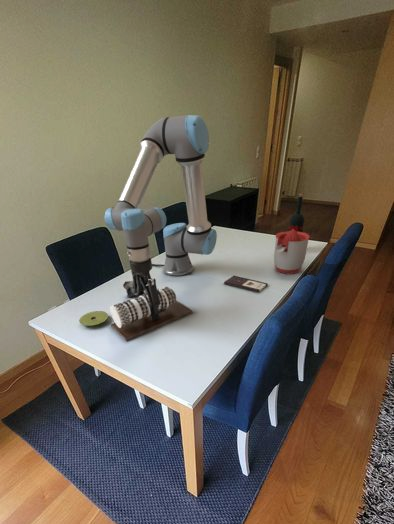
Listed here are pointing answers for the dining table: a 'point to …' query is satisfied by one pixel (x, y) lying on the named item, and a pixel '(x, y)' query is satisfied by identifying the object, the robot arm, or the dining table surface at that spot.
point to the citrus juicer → (290, 251)
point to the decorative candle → (140, 307)
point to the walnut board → (152, 322)
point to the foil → (130, 288)
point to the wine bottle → (297, 217)
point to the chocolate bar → (245, 283)
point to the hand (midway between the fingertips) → (149, 315)
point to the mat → (93, 318)
